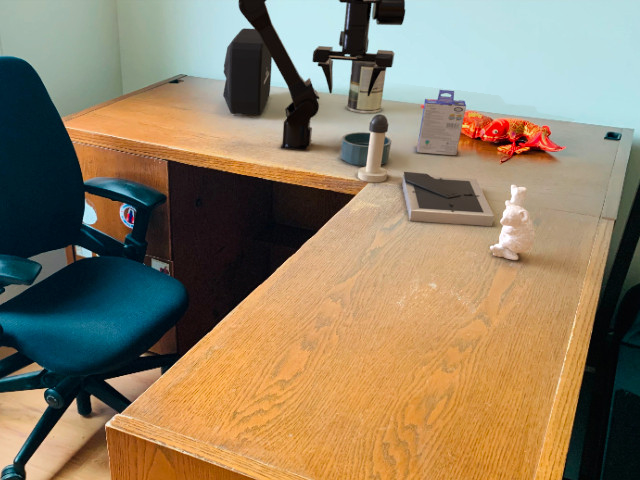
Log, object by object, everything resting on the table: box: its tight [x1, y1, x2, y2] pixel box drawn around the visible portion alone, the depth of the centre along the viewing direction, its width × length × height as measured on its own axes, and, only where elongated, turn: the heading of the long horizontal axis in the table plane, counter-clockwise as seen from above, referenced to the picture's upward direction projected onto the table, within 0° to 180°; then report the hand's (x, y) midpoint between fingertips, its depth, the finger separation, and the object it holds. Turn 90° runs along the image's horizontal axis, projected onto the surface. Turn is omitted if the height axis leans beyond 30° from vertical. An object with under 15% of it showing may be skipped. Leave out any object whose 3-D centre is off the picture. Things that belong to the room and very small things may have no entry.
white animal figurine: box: [489, 184, 536, 261], centre depth 115 cm, size 8×7×12 cm
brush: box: [357, 113, 389, 183], centre depth 147 cm, size 6×6×14 cm
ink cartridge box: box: [416, 89, 467, 156], centre depth 164 cm, size 10×6×14 cm, turn 79°
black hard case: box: [222, 28, 273, 116], centre depth 197 cm, size 30×12×20 cm, turn 172°
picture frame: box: [401, 171, 495, 227], centre depth 138 cm, size 16×3×21 cm
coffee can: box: [346, 57, 387, 114], centre depth 198 cm, size 10×10×14 cm
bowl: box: [339, 131, 392, 167], centre depth 160 cm, size 12×12×5 cm
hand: (349, 94), depth 162 cm, fingers open, 9 cm apart
